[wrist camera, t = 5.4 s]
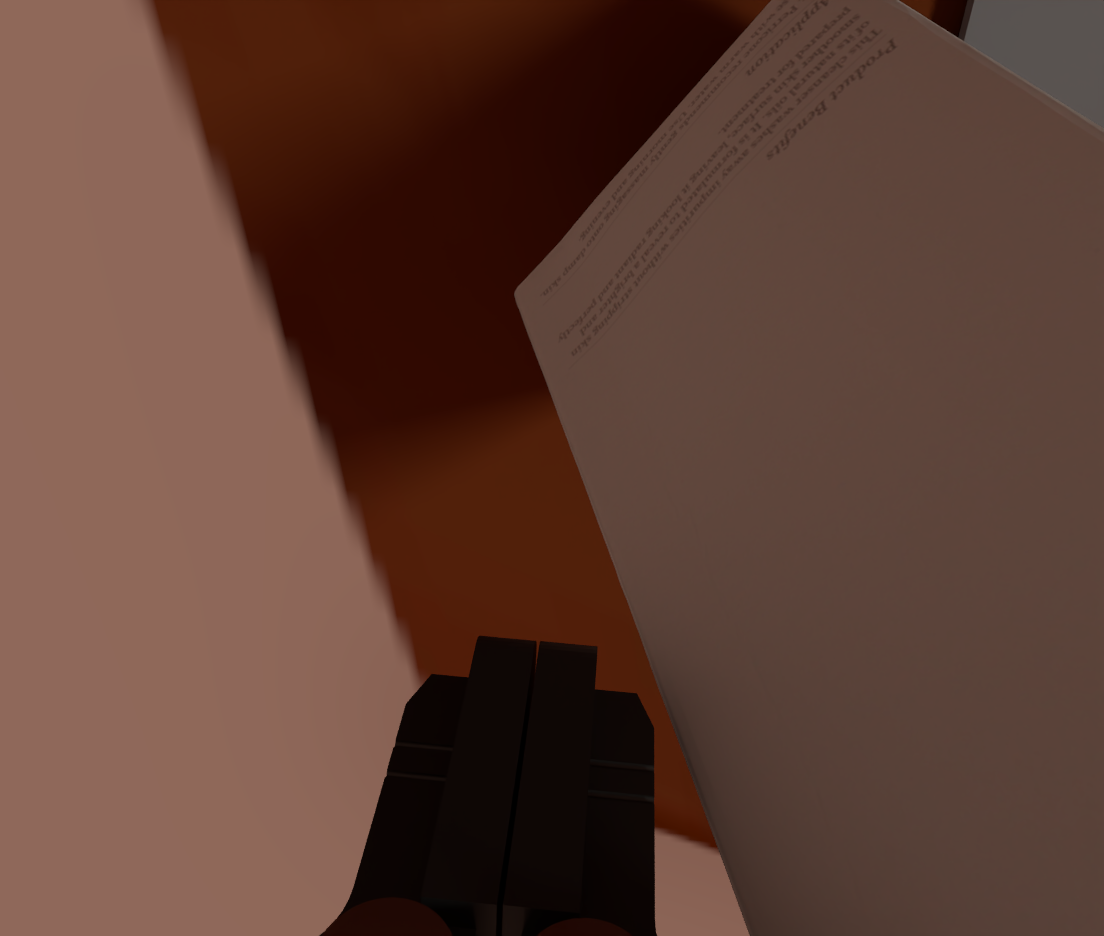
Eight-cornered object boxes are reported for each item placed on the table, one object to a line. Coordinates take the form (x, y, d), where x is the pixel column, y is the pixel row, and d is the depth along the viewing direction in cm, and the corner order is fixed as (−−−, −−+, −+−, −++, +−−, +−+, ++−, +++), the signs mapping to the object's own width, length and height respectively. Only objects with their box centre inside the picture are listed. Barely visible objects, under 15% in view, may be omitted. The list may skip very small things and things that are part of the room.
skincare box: (688, 404, 22) (1073, 1170, 12) (491, 278, 19) (795, 1213, 8) (997, 121, 19) (1907, 852, 9) (826, -99, 15) (2027, 697, 5)
